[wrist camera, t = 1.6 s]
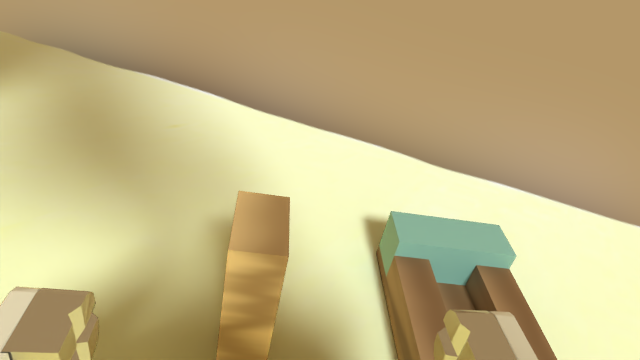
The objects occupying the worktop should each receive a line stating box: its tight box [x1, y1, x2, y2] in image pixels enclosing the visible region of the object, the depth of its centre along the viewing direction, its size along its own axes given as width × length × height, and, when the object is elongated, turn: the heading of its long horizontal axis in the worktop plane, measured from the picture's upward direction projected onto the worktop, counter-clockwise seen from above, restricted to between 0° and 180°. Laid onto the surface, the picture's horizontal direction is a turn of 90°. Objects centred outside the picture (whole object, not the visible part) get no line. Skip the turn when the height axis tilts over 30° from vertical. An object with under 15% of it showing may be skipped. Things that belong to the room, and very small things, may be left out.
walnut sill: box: [377, 211, 557, 360], centre depth 34 cm, size 10×20×5 cm, turn 3°
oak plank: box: [216, 191, 290, 360], centre depth 28 cm, size 3×5×12 cm, turn 3°
